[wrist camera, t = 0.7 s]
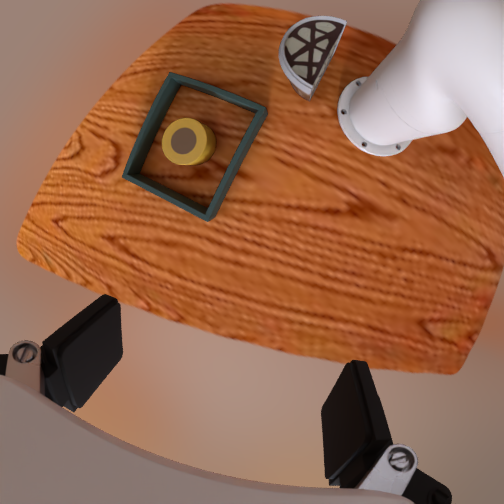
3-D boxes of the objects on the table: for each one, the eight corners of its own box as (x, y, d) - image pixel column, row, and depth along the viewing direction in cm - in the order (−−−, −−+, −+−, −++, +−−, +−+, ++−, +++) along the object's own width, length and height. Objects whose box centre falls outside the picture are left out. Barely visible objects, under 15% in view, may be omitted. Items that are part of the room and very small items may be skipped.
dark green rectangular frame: (179, 79, 35) (169, 71, 32) (268, 113, 36) (265, 107, 32) (134, 176, 41) (121, 177, 37) (214, 217, 41) (207, 222, 37)
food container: (299, 33, 31) (302, 0, 21) (336, 48, 31) (348, 18, 21) (266, 92, 35) (260, 68, 25) (305, 109, 35) (311, 89, 25)
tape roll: (186, 117, 37) (174, 111, 32) (223, 133, 37) (215, 127, 32) (168, 155, 39) (154, 153, 34) (204, 172, 39) (193, 172, 35)
